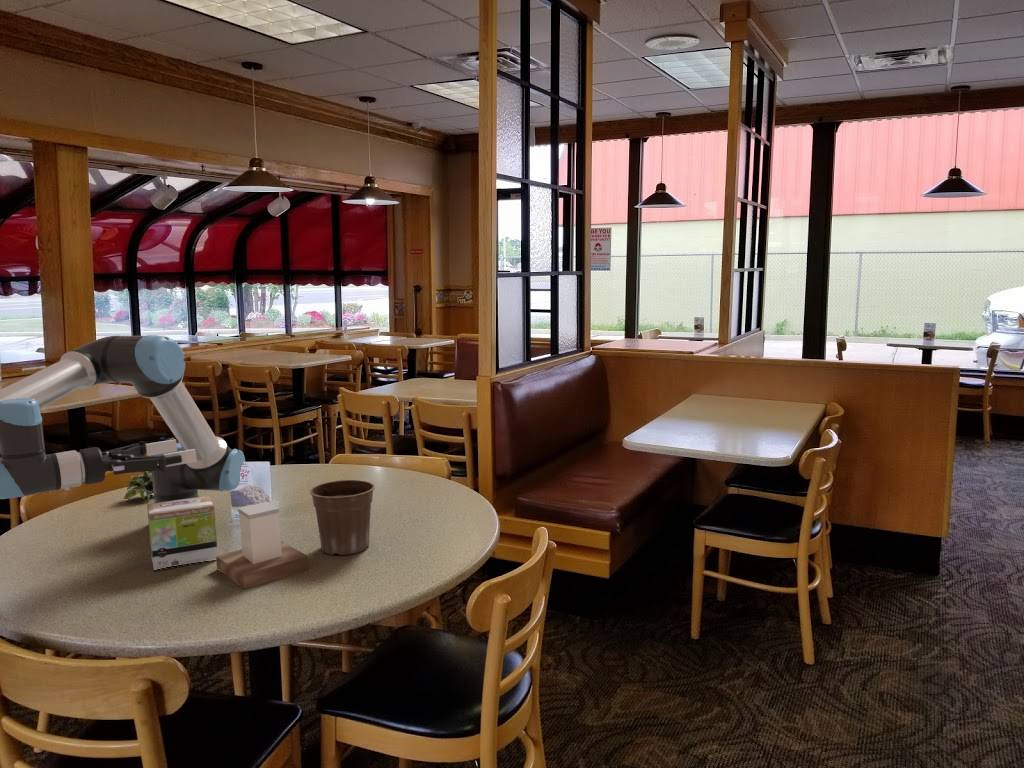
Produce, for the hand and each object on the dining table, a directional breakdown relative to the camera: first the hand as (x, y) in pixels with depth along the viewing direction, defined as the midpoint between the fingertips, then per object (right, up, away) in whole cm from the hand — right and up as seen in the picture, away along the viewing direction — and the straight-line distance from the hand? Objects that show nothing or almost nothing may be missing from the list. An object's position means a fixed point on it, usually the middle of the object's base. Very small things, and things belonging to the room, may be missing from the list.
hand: (185, 450), depth 173 cm
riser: (+13, -31, +13) cm, 36 cm away
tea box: (-9, -30, +20) cm, 37 cm away
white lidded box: (+13, -27, +12) cm, 32 cm away
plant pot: (+31, -28, +26) cm, 49 cm away
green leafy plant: (-43, -22, +73) cm, 88 cm away
